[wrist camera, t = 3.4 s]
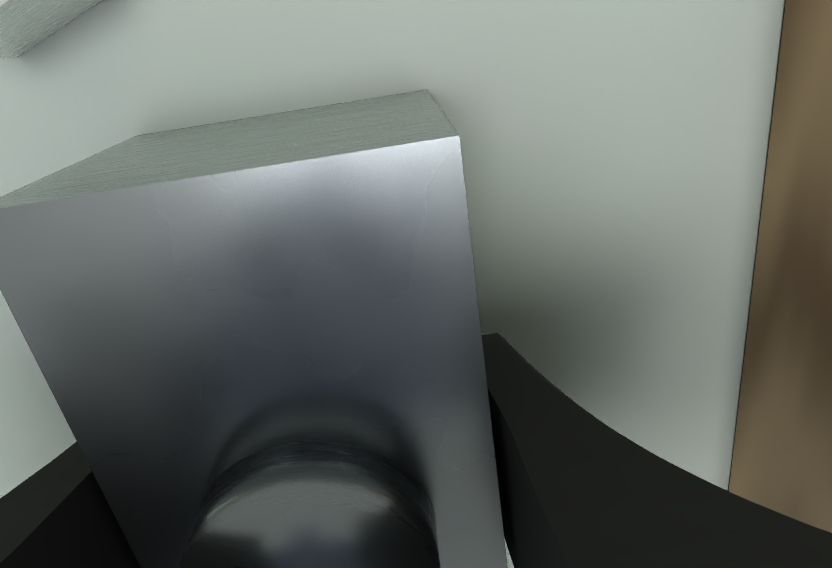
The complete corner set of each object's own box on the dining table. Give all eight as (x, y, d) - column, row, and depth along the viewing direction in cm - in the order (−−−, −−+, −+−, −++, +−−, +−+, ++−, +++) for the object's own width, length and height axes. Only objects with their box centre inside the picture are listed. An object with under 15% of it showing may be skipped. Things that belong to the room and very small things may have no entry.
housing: (483, 517, 14) (539, 790, 9) (280, 548, 14) (224, 836, 9) (427, 89, 10) (474, 156, 5) (136, 135, 10) (-118, 251, 5)
